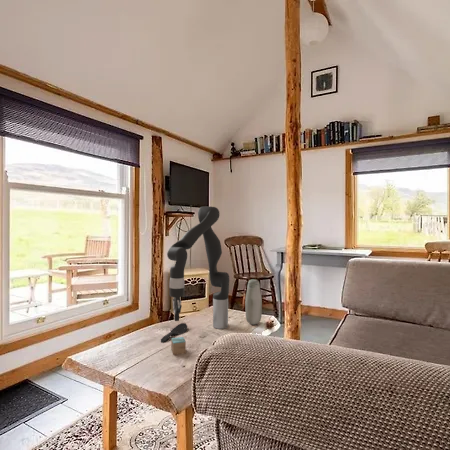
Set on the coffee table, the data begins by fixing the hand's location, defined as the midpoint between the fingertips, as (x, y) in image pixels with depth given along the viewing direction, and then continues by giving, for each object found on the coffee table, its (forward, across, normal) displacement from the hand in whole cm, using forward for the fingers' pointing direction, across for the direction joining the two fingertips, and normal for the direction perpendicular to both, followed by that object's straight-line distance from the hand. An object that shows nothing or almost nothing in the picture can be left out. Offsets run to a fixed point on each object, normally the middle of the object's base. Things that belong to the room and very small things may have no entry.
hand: (176, 320), depth 161 cm
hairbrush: (+14, +19, -2) cm, 24 cm away
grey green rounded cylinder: (+14, +22, -52) cm, 59 cm away
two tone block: (+14, -5, 0) cm, 15 cm away
